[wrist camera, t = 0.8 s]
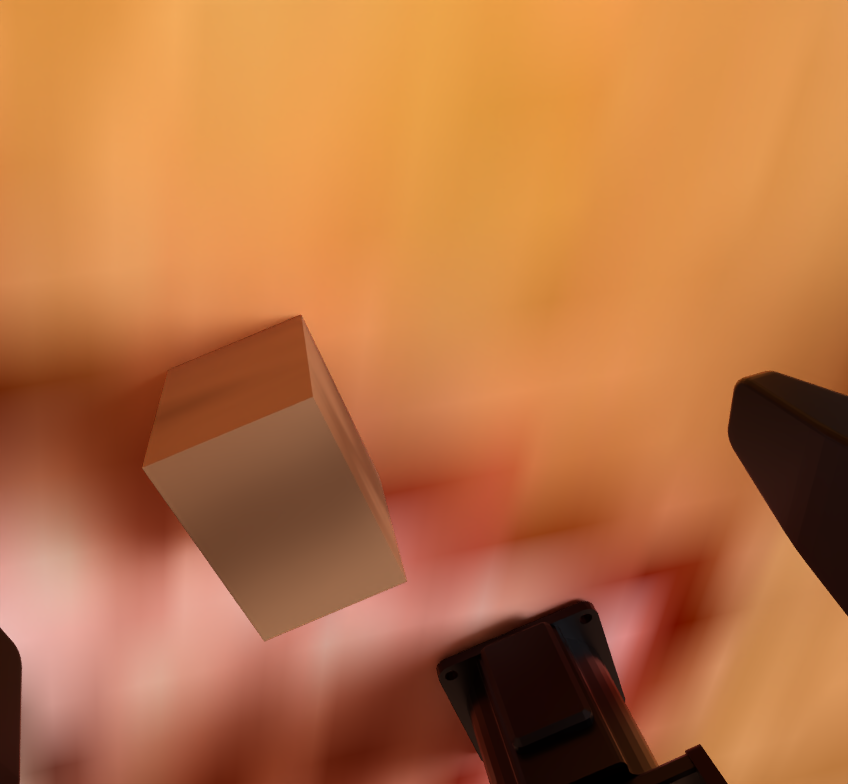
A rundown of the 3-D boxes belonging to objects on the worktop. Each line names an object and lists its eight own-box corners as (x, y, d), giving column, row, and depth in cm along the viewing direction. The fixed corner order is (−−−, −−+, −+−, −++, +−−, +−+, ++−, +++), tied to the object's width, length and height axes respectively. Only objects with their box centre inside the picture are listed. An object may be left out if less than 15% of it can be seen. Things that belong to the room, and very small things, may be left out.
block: (378, 474, 23) (406, 581, 18) (263, 522, 23) (264, 641, 18) (301, 313, 20) (312, 397, 15) (168, 368, 20) (141, 467, 15)
